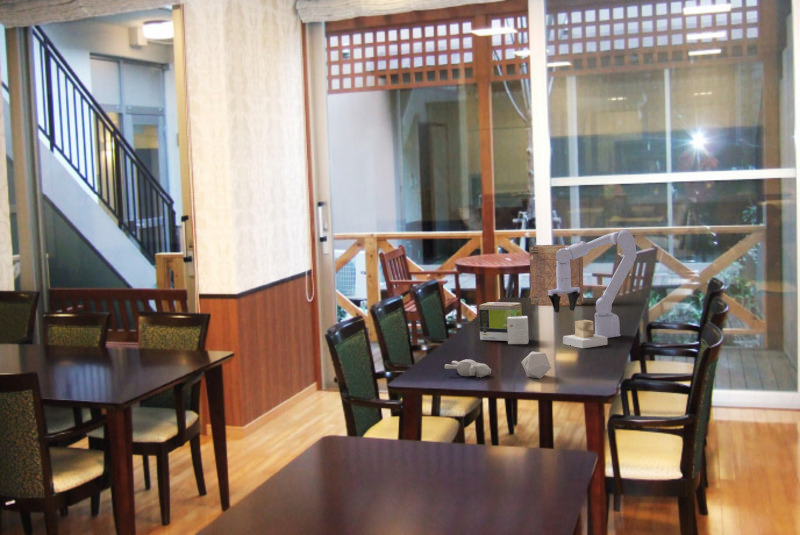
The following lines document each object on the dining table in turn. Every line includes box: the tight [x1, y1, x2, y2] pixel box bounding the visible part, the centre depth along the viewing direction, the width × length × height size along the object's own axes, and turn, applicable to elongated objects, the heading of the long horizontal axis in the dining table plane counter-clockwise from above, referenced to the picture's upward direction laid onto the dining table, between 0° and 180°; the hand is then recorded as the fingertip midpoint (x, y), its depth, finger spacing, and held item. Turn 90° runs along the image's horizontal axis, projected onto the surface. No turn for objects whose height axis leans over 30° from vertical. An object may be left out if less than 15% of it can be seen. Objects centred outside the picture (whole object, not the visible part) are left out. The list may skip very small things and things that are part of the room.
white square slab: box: [562, 333, 608, 349], centre depth 344 cm, size 12×12×3 cm
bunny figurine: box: [444, 358, 492, 378], centre depth 300 cm, size 10×5×15 cm
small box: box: [507, 315, 530, 345], centre depth 352 cm, size 8×6×10 cm
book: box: [528, 244, 584, 307], centre depth 449 cm, size 25×9×30 cm, turn 68°
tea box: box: [478, 301, 523, 342], centre depth 361 cm, size 15×10×15 cm, turn 59°
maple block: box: [574, 319, 595, 338], centre depth 344 cm, size 5×5×6 cm
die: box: [521, 351, 552, 379], centre depth 293 cm, size 8×9×10 cm
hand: (564, 311), depth 361 cm, fingers open, 7 cm apart
